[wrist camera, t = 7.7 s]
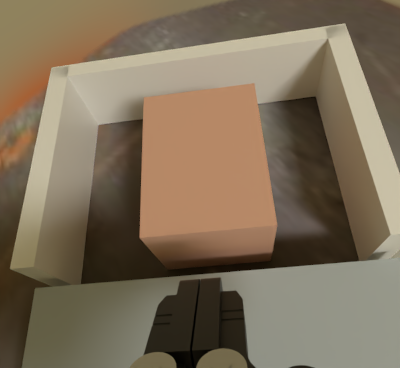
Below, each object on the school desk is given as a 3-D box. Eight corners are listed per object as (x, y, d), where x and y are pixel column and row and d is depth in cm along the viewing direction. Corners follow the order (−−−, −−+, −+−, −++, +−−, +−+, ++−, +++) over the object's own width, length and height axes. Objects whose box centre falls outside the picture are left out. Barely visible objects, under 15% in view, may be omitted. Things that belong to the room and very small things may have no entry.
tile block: (139, 237, 16) (143, 97, 19) (168, 270, 21) (167, 155, 25) (277, 225, 15) (254, 83, 19) (270, 261, 20) (253, 145, 24)
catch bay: (61, 290, 21) (9, 268, 17) (84, 116, 27) (51, 67, 23) (383, 263, 19) (420, 232, 15) (329, 83, 25) (345, 23, 21)
